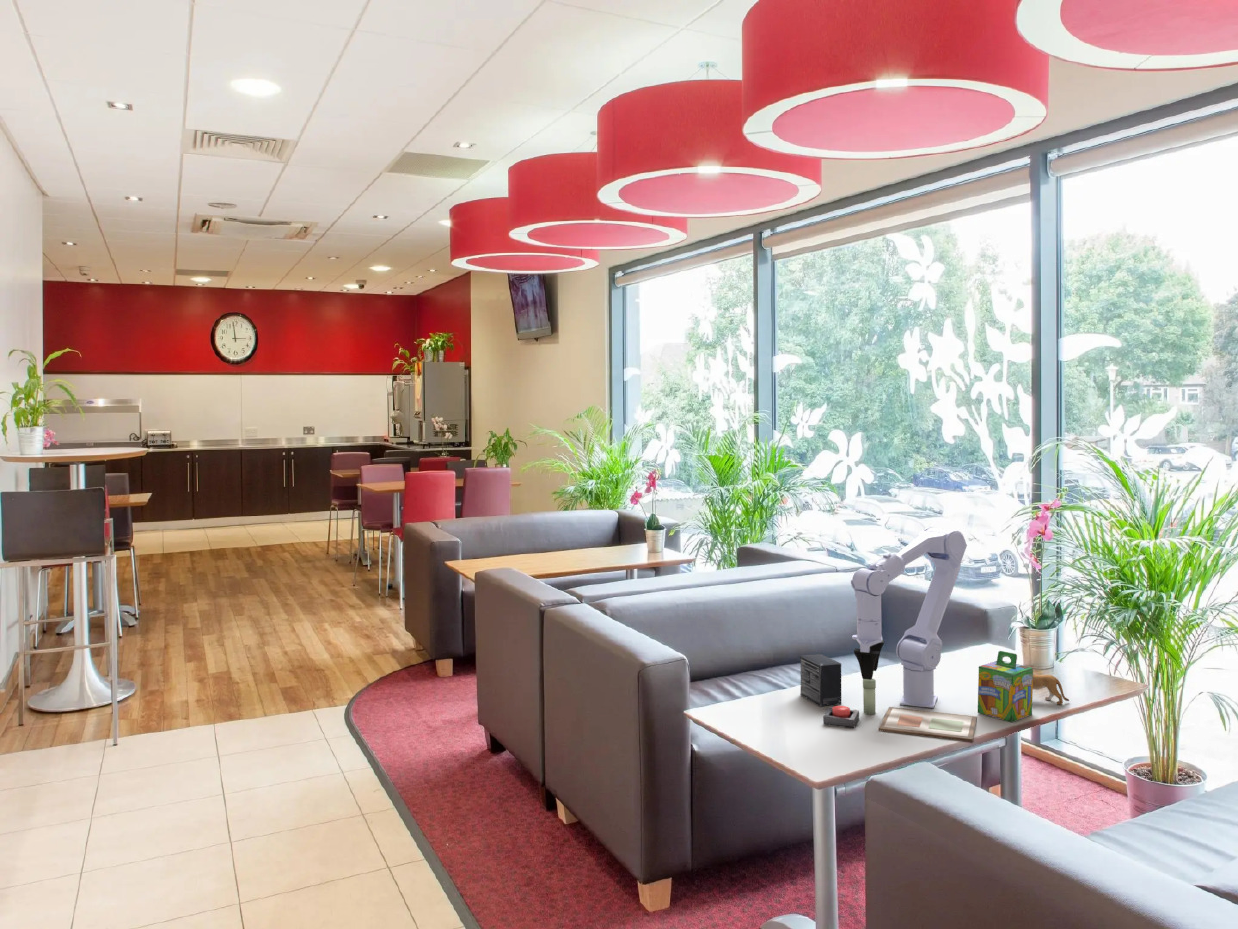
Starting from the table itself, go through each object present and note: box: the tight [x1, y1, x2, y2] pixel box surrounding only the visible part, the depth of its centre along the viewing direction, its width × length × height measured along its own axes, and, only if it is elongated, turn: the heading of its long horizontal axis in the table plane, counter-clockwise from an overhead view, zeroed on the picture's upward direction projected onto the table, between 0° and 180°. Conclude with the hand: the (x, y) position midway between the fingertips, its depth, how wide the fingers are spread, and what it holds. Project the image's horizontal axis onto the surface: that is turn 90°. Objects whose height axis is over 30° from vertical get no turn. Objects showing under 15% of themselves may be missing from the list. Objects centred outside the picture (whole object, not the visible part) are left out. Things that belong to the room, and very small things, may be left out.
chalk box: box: [977, 650, 1034, 723], centre depth 216 cm, size 9×9×15 cm
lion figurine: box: [1033, 673, 1070, 706], centre depth 226 cm, size 15×5×9 cm, turn 73°
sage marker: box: [862, 678, 877, 715], centre depth 220 cm, size 3×3×8 cm
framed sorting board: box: [878, 706, 977, 743], centre depth 211 cm, size 16×20×1 cm
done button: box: [832, 705, 851, 718], centre depth 214 cm, size 4×4×2 cm
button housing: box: [822, 707, 860, 729], centre depth 214 cm, size 7×7×2 cm
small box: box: [799, 653, 842, 707], centre depth 231 cm, size 11×6×10 cm, turn 18°
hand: (869, 674), depth 219 cm, fingers open, 7 cm apart
